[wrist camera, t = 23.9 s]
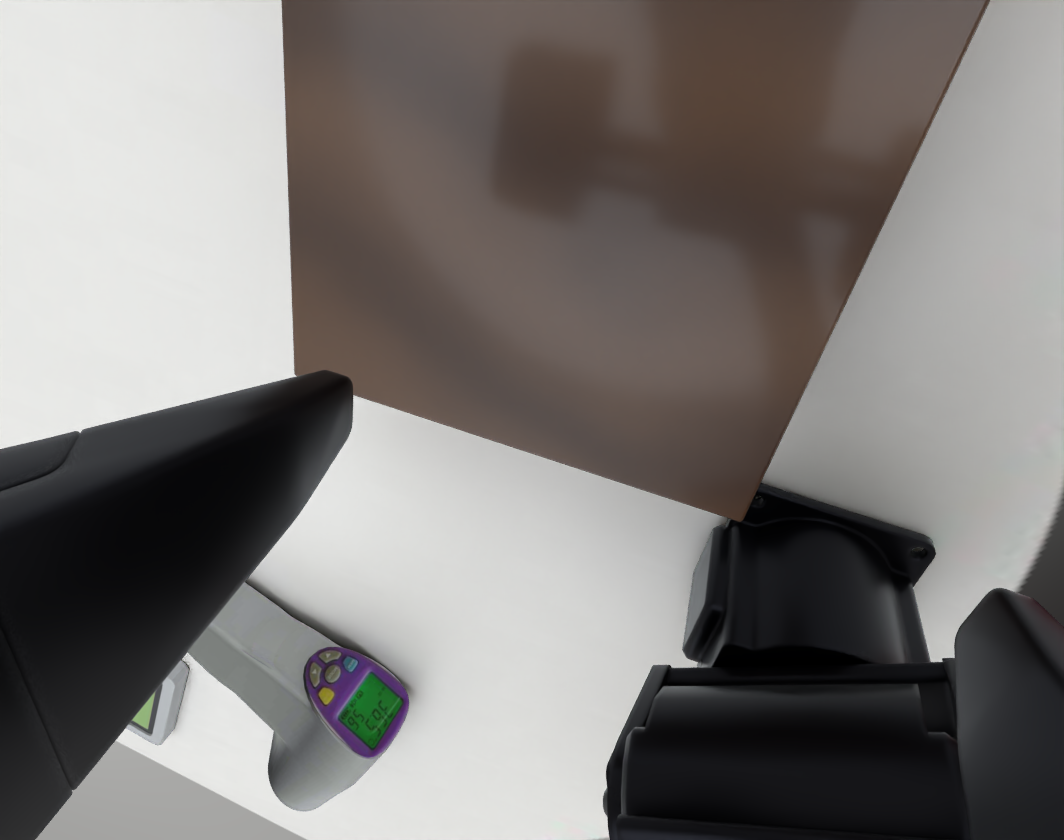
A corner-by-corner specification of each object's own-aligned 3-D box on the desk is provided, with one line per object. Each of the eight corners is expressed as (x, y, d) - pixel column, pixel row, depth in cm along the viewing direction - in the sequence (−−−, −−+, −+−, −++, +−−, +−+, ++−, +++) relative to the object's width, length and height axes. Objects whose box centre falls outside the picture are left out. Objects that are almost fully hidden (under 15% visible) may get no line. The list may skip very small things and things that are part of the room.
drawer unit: (441, -337, 15) (260, -520, 10) (1026, -253, 13) (1194, -424, 8) (400, 293, 24) (293, 376, 19) (749, 397, 22) (741, 524, 17)
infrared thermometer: (200, 522, 36) (427, 689, 36) (164, 631, 43) (353, 770, 43) (129, 579, 32) (381, 765, 32) (102, 687, 39) (309, 840, 39)
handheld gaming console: (-41, 561, 41) (172, 685, 41) (-16, 544, 42) (190, 665, 43) (-30, 643, 47) (156, 752, 47) (-8, 626, 48) (173, 732, 48)
